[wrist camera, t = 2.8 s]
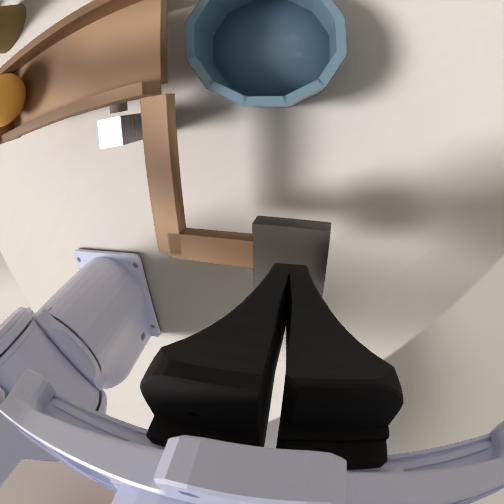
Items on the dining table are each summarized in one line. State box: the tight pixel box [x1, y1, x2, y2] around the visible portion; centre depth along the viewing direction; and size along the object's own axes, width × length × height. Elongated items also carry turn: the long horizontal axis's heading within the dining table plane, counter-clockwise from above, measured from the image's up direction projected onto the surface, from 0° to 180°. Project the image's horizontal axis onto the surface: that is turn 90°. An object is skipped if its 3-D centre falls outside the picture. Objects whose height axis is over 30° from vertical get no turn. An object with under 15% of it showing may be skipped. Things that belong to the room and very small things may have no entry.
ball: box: [0, 73, 26, 127], centre depth 11 cm, size 4×4×4 cm
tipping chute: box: [0, 0, 331, 296], centre depth 13 cm, size 16×23×3 cm
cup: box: [185, 0, 347, 107], centre depth 12 cm, size 8×8×4 cm
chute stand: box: [98, 113, 143, 149], centre depth 13 cm, size 11×2×6 cm, turn 1°
